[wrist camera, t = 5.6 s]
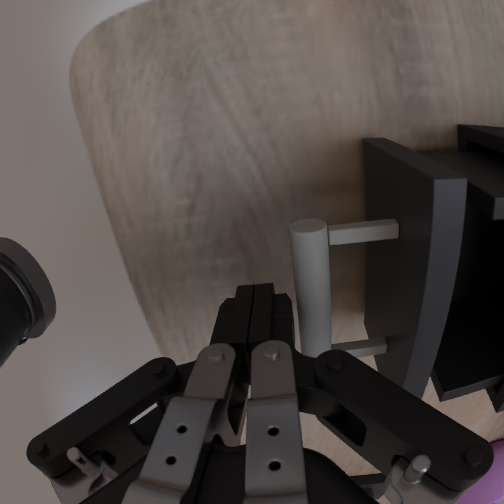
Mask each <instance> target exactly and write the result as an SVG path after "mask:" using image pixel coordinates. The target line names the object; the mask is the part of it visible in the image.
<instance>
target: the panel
mask: <svg viewBox="0 0 504 504" xmlns="http://www.w3.org/2000/svg"><path fill="white" fill-rule="evenodd" d="M350 478H351V479H352V480H354V481H355V482H356V483H357V484H358V485H359V486H360V487H361V488H362V489H364V490H365V491H366V492H367V493H368V494H369V495H370V496H371V497H373V498H374V499H379V498H380V497H381V496H382V495H383V494H384V491H383V486H384V482H385V480H386V478H387V476H386V475H385V474H383V473H380V474H372V475H364V476H354V477H350Z"/></svg>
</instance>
